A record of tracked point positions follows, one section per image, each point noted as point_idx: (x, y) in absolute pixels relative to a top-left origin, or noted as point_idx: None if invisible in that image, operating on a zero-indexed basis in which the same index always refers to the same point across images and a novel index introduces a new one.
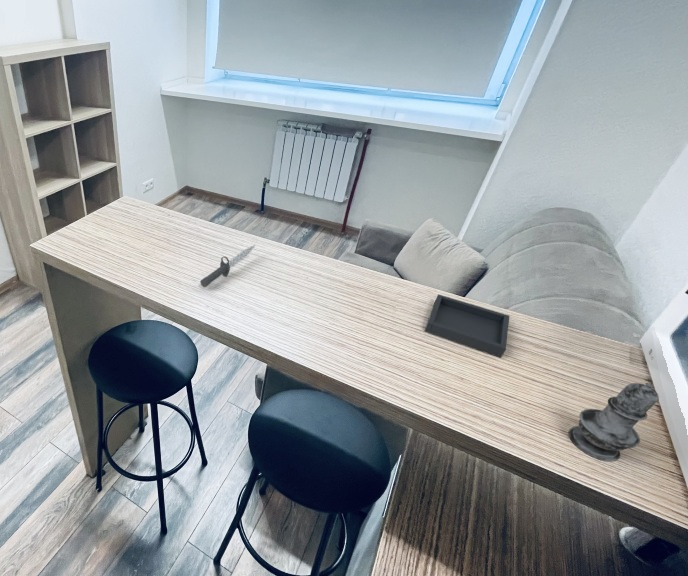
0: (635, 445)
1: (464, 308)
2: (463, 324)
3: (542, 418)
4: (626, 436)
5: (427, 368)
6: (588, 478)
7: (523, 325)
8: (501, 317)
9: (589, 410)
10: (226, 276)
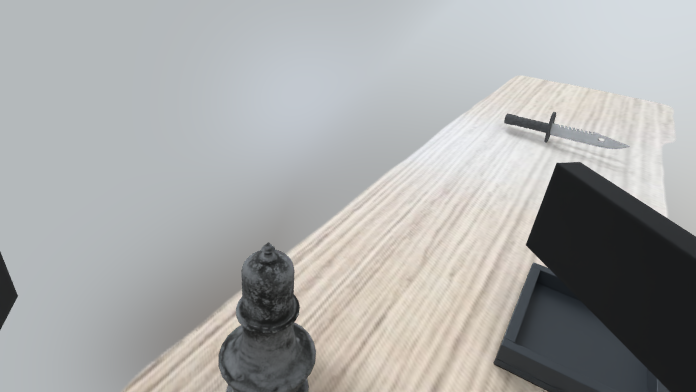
0: (220, 365)
1: None
2: (582, 338)
3: (328, 343)
4: (236, 347)
5: (423, 251)
6: (205, 334)
7: None
8: None
9: (310, 346)
10: (545, 141)
